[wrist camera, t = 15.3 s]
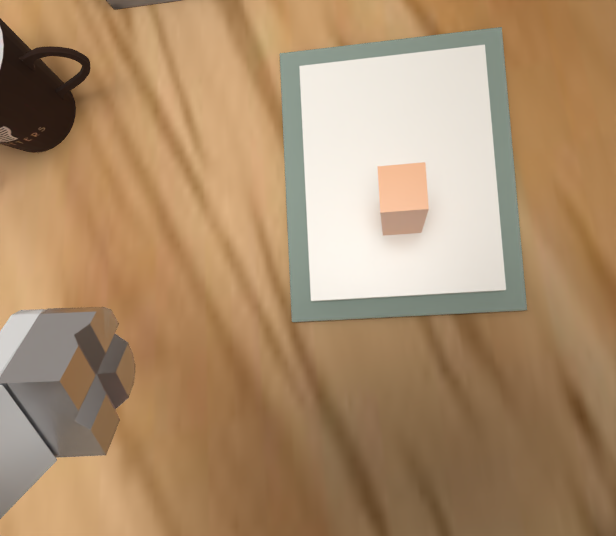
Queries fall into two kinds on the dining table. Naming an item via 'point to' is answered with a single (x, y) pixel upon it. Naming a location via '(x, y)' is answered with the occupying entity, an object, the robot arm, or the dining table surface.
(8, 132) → the coffee mug
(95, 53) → the dining table surface
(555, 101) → the dining table surface
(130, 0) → the tub
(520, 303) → the mat
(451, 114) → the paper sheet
